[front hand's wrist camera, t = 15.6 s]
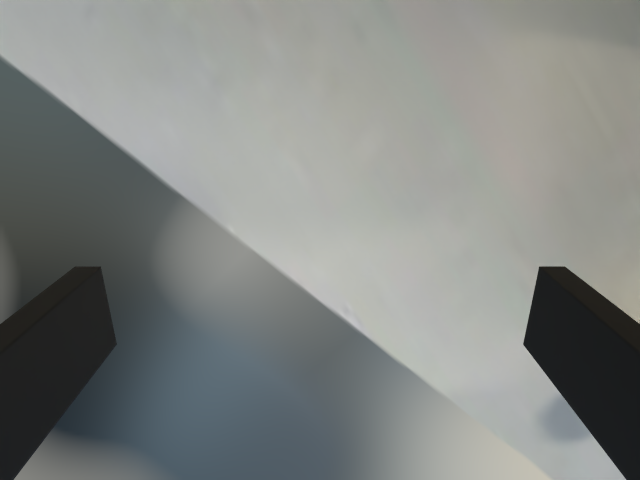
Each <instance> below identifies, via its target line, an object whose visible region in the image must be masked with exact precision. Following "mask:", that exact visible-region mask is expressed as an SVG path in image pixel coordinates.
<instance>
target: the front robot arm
mask: <svg viewBox="0 0 640 480" xmlns="http://www.w3.org/2000/svg"><path fill="white" fill-rule="evenodd" d="M116 344H117V343H116V339H115V334H114V329H113V324H112V319H111V314H110V310H109V305H108V300H107V295H106V290H105V285H104V280H103V276H102V271H101V267H74V268H73V269H71V270H70V271H69V272H67V273H66V274H65V275H64V276H62V277H61V278H60V279H58V280H57V281H56V282H54V283H53V284H52V285H51V286H49V287H48V288H47V289H45V290H44V291H43V292H42V293H40V294H39V295H38V296H36V297H35V298H34V299H32V300H31V301H30V302H29V303H27V304H26V305H25V306H23V307H22V308H21V309H19V310H18V311H17V312H16V313H14V314H13V315H12V316H10V317H9V318H8V319H7V320H5V321H4V322H3V323H1V324H0V480H14V478H15V477H16V476H17V474H18V473H19V472H20V470H21V469H22V468H23V466H24V465H25V464H26V463H27V461H28V460H29V459H30V457H31V456H32V455H33V453H34V452H35V451H36V449H37V448H38V447H39V446H40V444H41V443H42V442H43V440H44V439H45V438H46V436H47V435H48V434H49V432H50V431H51V430H52V429H53V427H54V426H55V425H56V423H57V422H58V421H59V419H60V418H61V417H62V415H63V414H64V413H65V411H66V410H67V409H68V407H69V406H70V405H71V404H72V402H73V401H74V400H75V398H76V397H77V396H78V394H79V393H80V392H81V390H82V389H83V388H84V387H85V385H86V384H87V383H88V381H89V380H90V379H91V377H92V376H93V375H94V373H95V372H96V371H97V370H98V368H99V367H100V366H101V364H102V363H103V362H104V360H105V359H106V358H107V356H108V355H109V354H110V353H111V351H112V350H113V349H114V347H115V346H116ZM523 345H524V346H525V347H526V349H527V350H528V351H529V353H530V354H531V355H532V356H533V358H534V359H535V360H536V362H537V363H538V364H539V366H540V367H541V368H542V370H543V371H544V372H545V373H546V375H547V376H548V377H549V379H550V380H551V381H552V383H553V384H554V385H555V387H556V388H557V389H558V391H559V392H560V393H561V394H562V396H563V397H564V398H565V400H566V401H567V402H568V404H569V405H570V406H571V408H572V409H573V410H574V411H575V413H576V414H577V415H578V417H579V418H580V419H581V421H582V422H583V423H584V425H585V426H586V427H587V429H588V430H589V431H590V432H591V434H592V435H593V436H594V438H595V439H596V440H597V442H598V443H599V444H600V446H601V447H602V448H603V450H604V451H605V452H606V453H607V455H608V456H609V457H610V459H611V460H612V461H613V463H614V464H615V465H616V467H617V468H618V469H619V470H620V472H621V473H622V474H623V476H624V477H625V478H626V480H640V324H639V323H637V322H636V321H635V320H634V319H632V318H631V317H630V316H628V315H627V314H626V313H624V312H623V311H622V310H621V309H619V308H618V307H617V306H615V305H614V304H613V303H611V302H610V301H609V300H608V299H606V298H605V297H604V296H602V295H601V294H600V293H598V292H597V291H596V290H595V289H593V288H592V287H591V286H589V285H588V284H587V283H586V282H584V281H583V280H582V279H580V278H579V277H578V276H576V275H575V274H574V273H573V272H571V271H570V270H569V269H567V268H566V267H539V271H538V276H537V280H536V285H535V290H534V295H533V300H532V305H531V310H530V314H529V319H528V324H527V329H526V334H525V339H524V343H523Z"/></svg>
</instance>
